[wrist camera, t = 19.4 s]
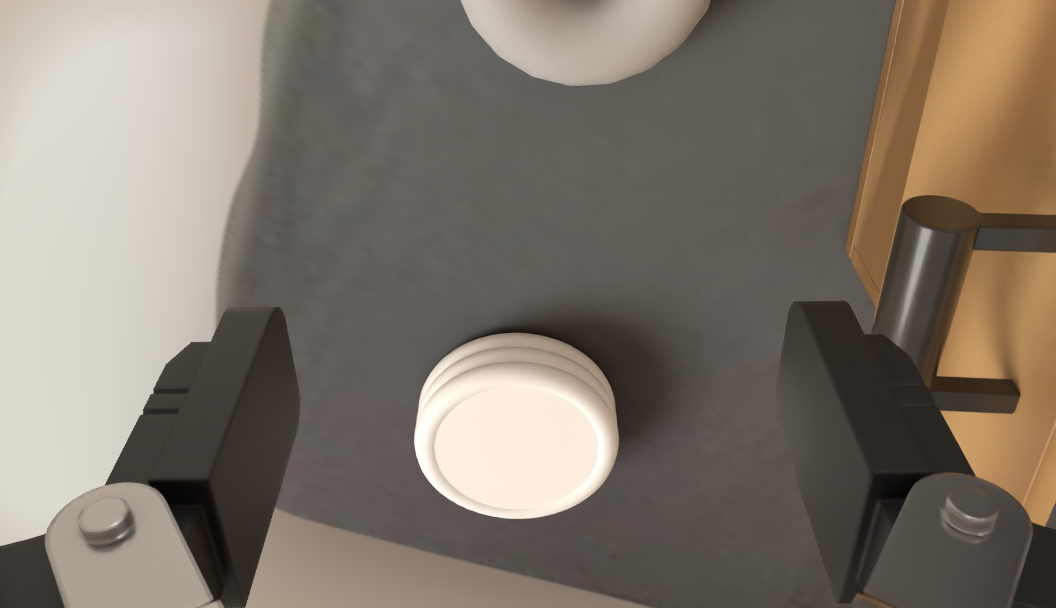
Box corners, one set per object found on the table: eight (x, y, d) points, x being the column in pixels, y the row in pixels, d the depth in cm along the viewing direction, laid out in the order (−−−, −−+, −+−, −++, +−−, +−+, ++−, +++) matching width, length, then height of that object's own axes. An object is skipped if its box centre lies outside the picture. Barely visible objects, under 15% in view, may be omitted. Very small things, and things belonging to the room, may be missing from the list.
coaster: (402, 454, 51) (394, 503, 48) (444, 307, 45) (438, 352, 43) (580, 490, 52) (583, 540, 50) (641, 353, 47) (649, 399, 44)
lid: (1273, -7, 17) (996, -9, 17) (1007, 618, 27) (834, 607, 27) (1011, -148, 29) (848, -148, 29) (892, 323, 39) (773, 318, 39)
